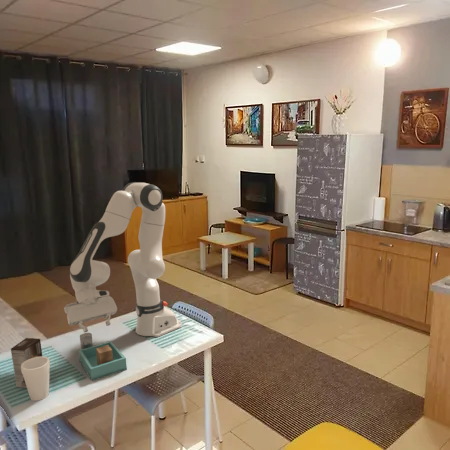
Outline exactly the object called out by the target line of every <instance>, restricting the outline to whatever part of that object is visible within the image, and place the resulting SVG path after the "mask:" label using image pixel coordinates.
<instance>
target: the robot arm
mask: <svg viewBox="0 0 450 450" xmlns="http://www.w3.org/2000/svg"><path fill="white" fill-rule="evenodd" d="M163 198H164V197H163V192H162V190H161V189H160V188H159V187H158V186H156V185H155V184H150V183H146V182H136V181H134V182H133V181H132V182H129V183H127V184H126V185H125V186H123V188H122V190H117V191H116V192H114V193H113V194H112V196H111V198H110V200H109V202H108V204H107V206H106V208H105V212H104V213H103V215H102V217H101V218H100V220H99V221H98V222H96V223H95V224H93V226H92V228H90V229H91V230H90V231H89V232H88V235H87V237H86V238H85V241H84V242H83V244H82V246H81V248H80V250H79V252H78V254H77V255H76V257H75V258H74V259H73V261H72V262H71V264H70V265H69V278H70V282H71V283H70V284H71V286H72V289H73V290H74V292H75V293H74V294H75V295H74V296H75V299H76V301H75V302H71V303H67V304H66V305H65V306H64V307H63V310H64V313H65V314H66V318H67V323H68V325H69V326H71V327H73V326H75V325H78V327H79V328H80V329H82V331H83V333H89V332H88V331H89V329H88V326H85V325H84V324H83V323H87V322H91V321H94V320H98V319H102V318H104V317H105V318H106V319H107V320H106V321H105V322H104V323H105V325H106V327H108V326H111V316H112V315H115V314H116V313H117V311H118V307H117V304H116V302H115V300H114V298H113V297H112V296H110V291H109V290H100V289H97V287H99V286H102V285H103V284H105V283H106V282H108V280H110V276H111V267H110V265H109V264H108V263H107V262H104V261H99V260H95V259H93V258H94V256H95V254H96V253H97V250H98V249H99V247H100V244H101V243H102V242H103V241H104V240H105V239H108V238H111V237H115V236H116V237H117V236H119V235H121V234H123V233H124V232H125V231H126V230H127V227H128V226H129V223H130V221H131V217H132V215H133V211H134V210H135V209H136V208H137V207H138V208H141V211H142V212H141V218H140V225H139V230H138V236H137V238H138V242H139V249H135V250H132V251H131V252H130V253H129V254H128V257H127V263H128V265H129V269H130V271H131V276H132V278H133V283H134V288H135V294H136V295H135V297H136V302H135V311H136V317H137V318H136V327H135V333H136V334H137V335H140V336H142V337H143V336H144V337H157V338H158V337H161V336H163V335H165V334H168V333H171V332H173V331H175V330H179V329H180V328H182V326H183V325H182V321H181V320H180V319H178V318H177V316H176V314H175V312H174V311H172V310H171V309H170V308H168V303H167V302H166V301H164V300H162V299H161V297H160V295H161V294H160V293H161V292H160V286H159V283H158V280H157V279H159V278H160V277H162V276H163V274H164V273H165V270H166V265H165V264H166V263H165V262H164V256H163V245H162V244H163V237H164V228H165V223H166V205H165V204H164V202H163Z"/></svg>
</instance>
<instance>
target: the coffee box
mask: <svg viewBox="0 0 450 450" xmlns="http://www.w3.org/2000/svg"><path fill="white" fill-rule="evenodd" d="M10 352H11V359H12V366H13V371H14V378H15V386H16V387H17V388H23V389H27V386H26V383H25V380H24V377H23V374H22V372H21V365H22V363H23V362H25V361H26V360H28V359H30V358H34V357H40V356H43V350H42V343H41V338H30V337H25V338H24V339H22V340H21V341H19V343H16V345H14V346H13V347H11V348H10Z"/></svg>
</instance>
